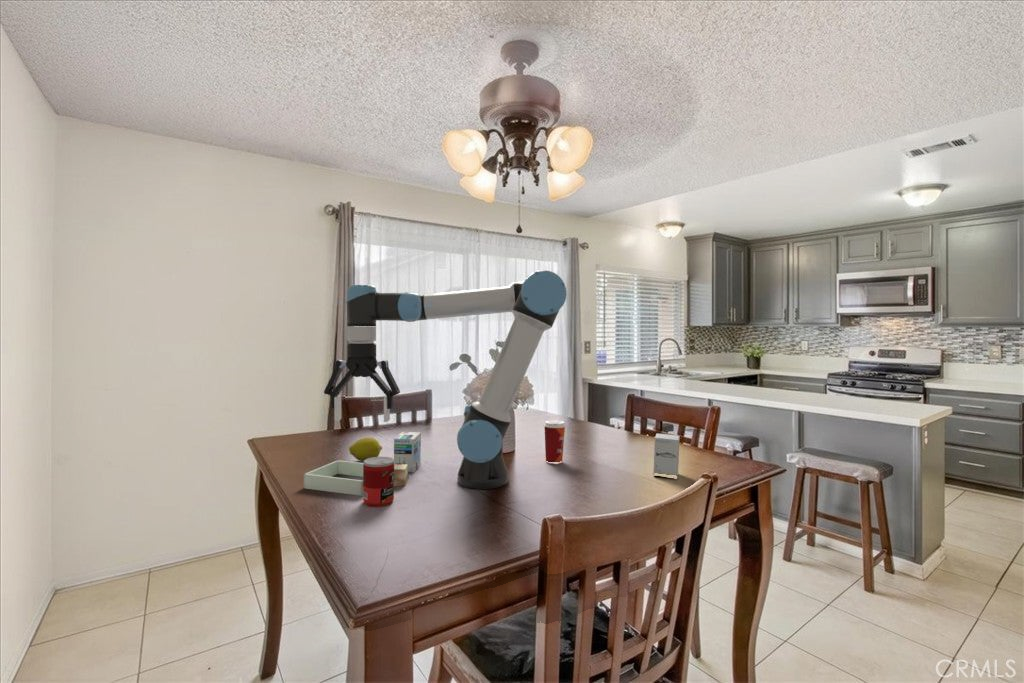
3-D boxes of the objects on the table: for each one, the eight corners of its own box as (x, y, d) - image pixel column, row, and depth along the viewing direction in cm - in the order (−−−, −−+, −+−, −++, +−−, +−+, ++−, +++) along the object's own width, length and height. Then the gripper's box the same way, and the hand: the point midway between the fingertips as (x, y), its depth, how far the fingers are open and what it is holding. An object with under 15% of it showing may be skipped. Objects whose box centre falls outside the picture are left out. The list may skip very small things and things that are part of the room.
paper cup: (566, 465, 163) (567, 424, 163) (543, 464, 164) (544, 423, 163) (564, 459, 171) (564, 419, 171) (542, 458, 171) (543, 419, 171)
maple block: (407, 480, 145) (407, 464, 145) (404, 486, 140) (405, 469, 140) (390, 481, 144) (390, 464, 144) (387, 486, 139) (387, 469, 139)
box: (392, 479, 146) (392, 466, 145) (362, 496, 131) (362, 481, 131) (337, 473, 151) (337, 460, 151) (303, 488, 136) (303, 474, 136)
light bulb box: (414, 473, 153) (414, 439, 152) (392, 472, 153) (393, 438, 152) (421, 463, 163) (421, 431, 163) (401, 463, 163) (401, 431, 163)
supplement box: (652, 477, 152) (653, 437, 152) (655, 470, 159) (656, 432, 158) (677, 480, 149) (678, 439, 149) (678, 473, 156) (679, 434, 156)
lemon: (381, 457, 170) (381, 434, 170) (383, 463, 163) (383, 439, 163) (348, 459, 166) (348, 436, 166) (349, 465, 159) (349, 441, 159)
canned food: (386, 508, 122) (386, 465, 122) (357, 505, 124) (357, 463, 124) (399, 498, 130) (399, 457, 130) (371, 495, 131) (371, 455, 131)
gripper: (411, 342, 134) (411, 418, 134) (323, 341, 135) (324, 417, 136) (403, 343, 126) (403, 423, 127) (310, 342, 128) (311, 422, 128)
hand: (362, 420), depth 131 cm, fingers open, 13 cm apart
